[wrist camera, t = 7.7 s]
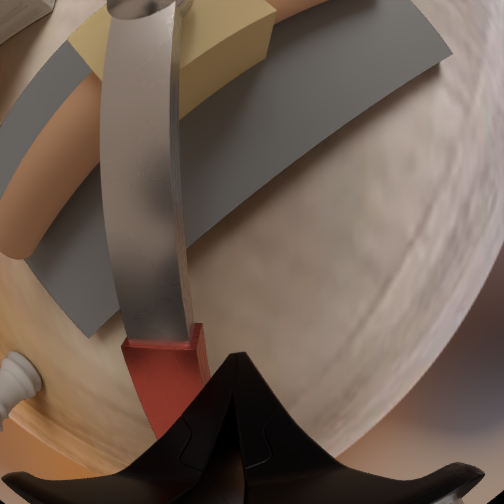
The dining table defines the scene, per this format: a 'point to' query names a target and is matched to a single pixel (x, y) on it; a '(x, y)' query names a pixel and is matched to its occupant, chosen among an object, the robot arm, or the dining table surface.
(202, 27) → the valve body
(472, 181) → the dining table surface
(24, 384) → the rook chess piece
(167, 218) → the valve lever
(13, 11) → the supplement box
